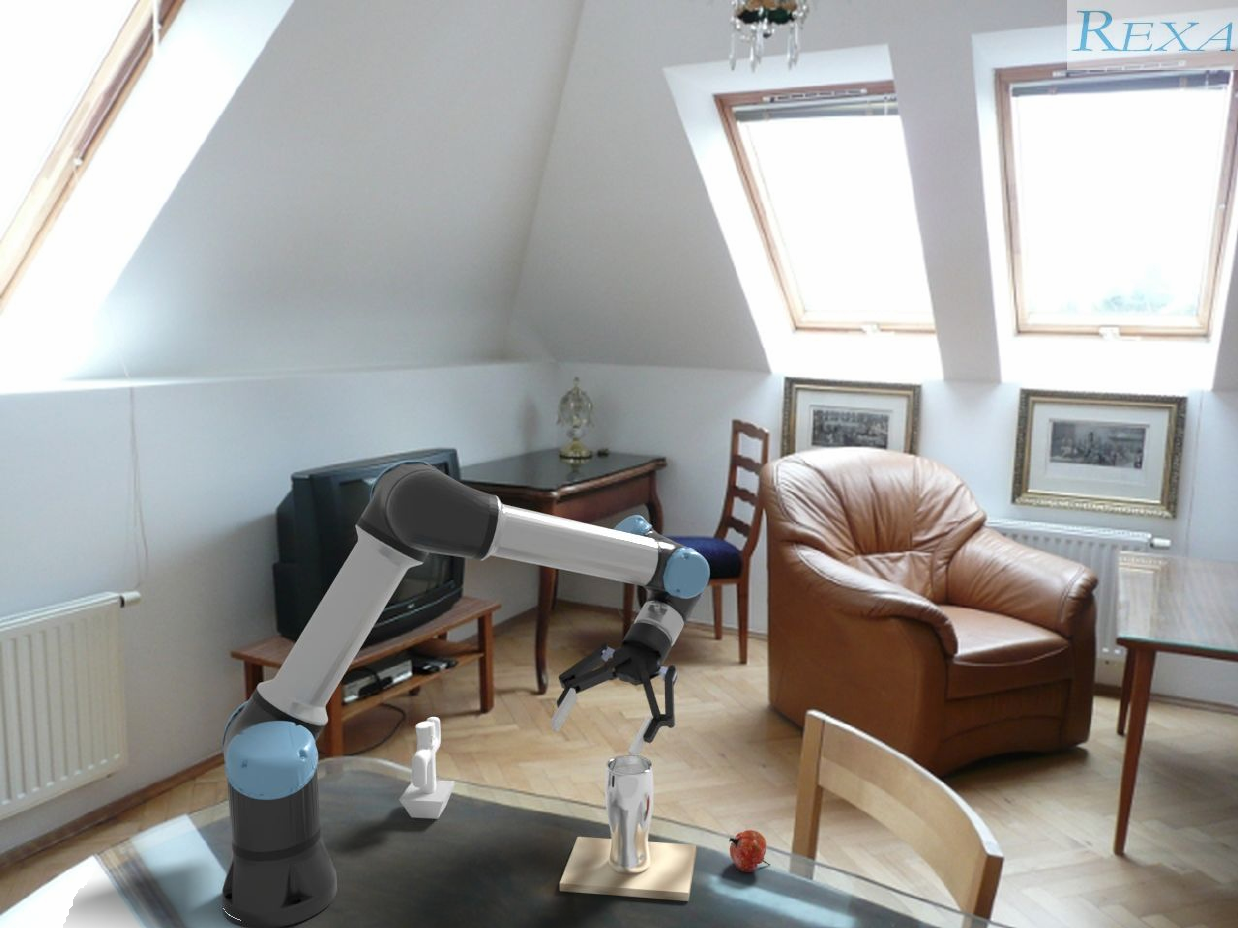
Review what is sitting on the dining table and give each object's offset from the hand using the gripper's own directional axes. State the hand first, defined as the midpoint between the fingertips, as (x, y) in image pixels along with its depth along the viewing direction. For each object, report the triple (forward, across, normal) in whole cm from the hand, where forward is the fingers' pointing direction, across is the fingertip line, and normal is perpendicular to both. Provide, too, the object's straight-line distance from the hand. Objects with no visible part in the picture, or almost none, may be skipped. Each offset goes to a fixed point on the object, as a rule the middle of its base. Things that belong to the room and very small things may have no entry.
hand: (592, 741), depth 159 cm
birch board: (+14, +12, +6) cm, 19 cm away
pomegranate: (+5, +27, +10) cm, 29 cm away
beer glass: (+13, +12, +6) cm, 19 cm away
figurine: (+16, -24, +13) cm, 32 cm away
